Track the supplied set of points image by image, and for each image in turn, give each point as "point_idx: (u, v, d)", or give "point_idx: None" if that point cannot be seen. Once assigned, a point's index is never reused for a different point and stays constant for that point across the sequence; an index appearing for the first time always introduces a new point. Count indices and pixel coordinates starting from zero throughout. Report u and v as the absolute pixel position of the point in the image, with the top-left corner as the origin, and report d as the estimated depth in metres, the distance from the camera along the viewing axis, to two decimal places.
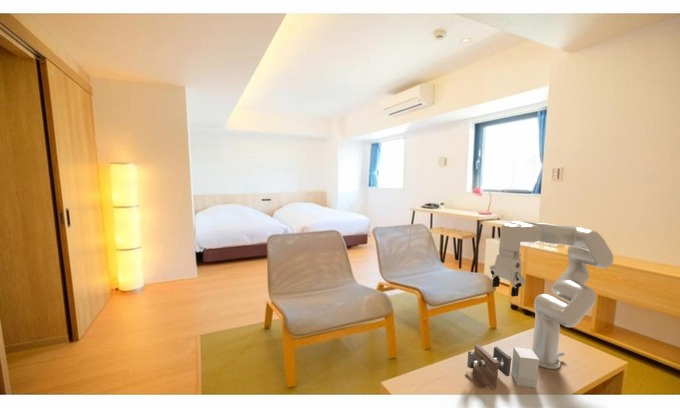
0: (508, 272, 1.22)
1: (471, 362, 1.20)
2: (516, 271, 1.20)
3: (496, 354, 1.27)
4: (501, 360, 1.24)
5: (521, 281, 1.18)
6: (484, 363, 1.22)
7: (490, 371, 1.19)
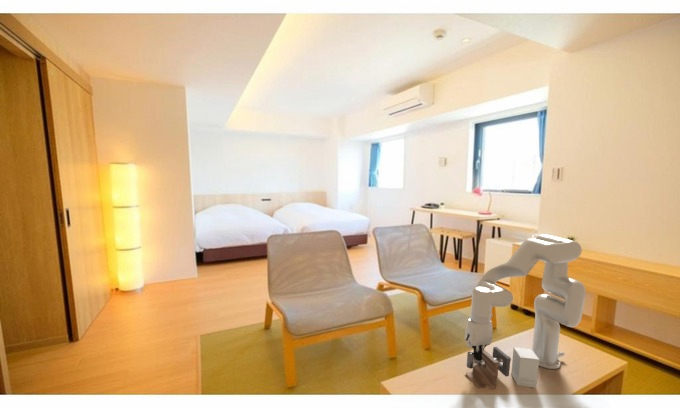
0: (489, 336, 1.19)
1: (470, 362, 1.20)
2: None
3: (495, 354, 1.27)
4: (500, 360, 1.24)
5: None
6: (483, 363, 1.22)
7: (490, 371, 1.19)
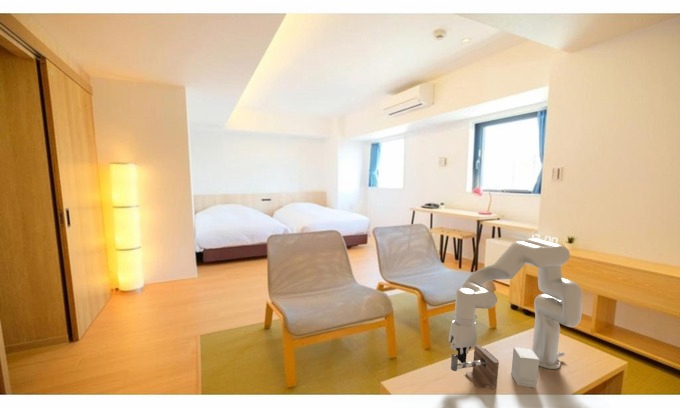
0: (473, 338, 1.17)
1: (454, 365, 1.19)
2: None
3: None
4: (485, 362, 1.22)
5: None
6: (468, 366, 1.20)
7: (490, 371, 1.19)
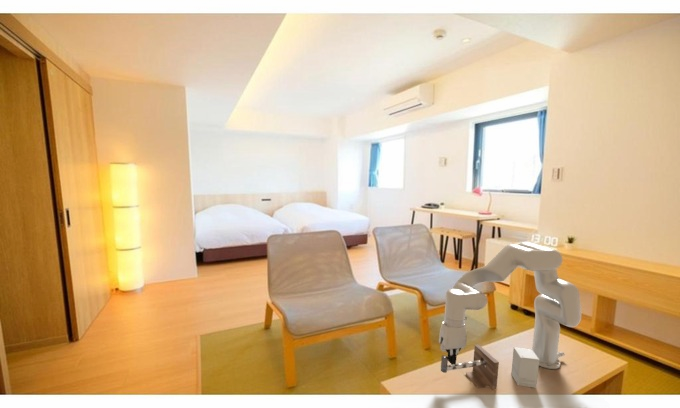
0: (463, 340, 1.16)
1: (444, 366, 1.18)
2: None
3: None
4: (476, 364, 1.21)
5: (462, 347, 1.19)
6: (458, 367, 1.19)
7: (490, 371, 1.19)
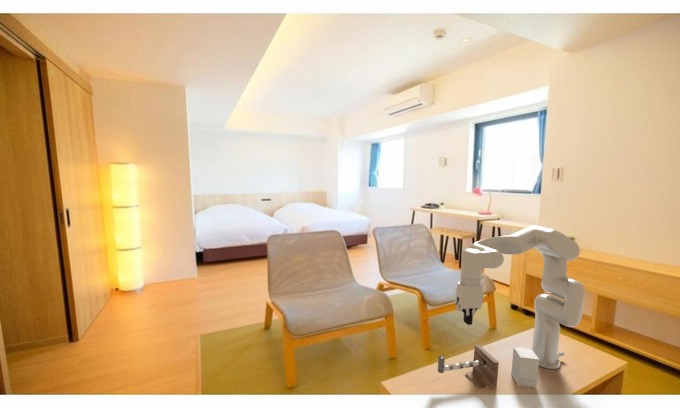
0: (479, 299, 1.16)
1: (441, 367, 1.17)
2: None
3: None
4: (473, 364, 1.21)
5: (478, 307, 1.18)
6: (455, 368, 1.19)
7: (490, 371, 1.19)
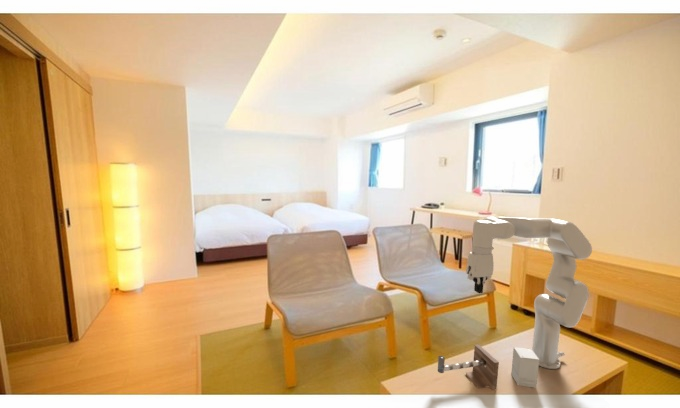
0: (490, 268, 1.21)
1: (441, 367, 1.17)
2: None
3: None
4: (473, 364, 1.21)
5: (489, 277, 1.23)
6: (455, 368, 1.19)
7: (490, 371, 1.19)
